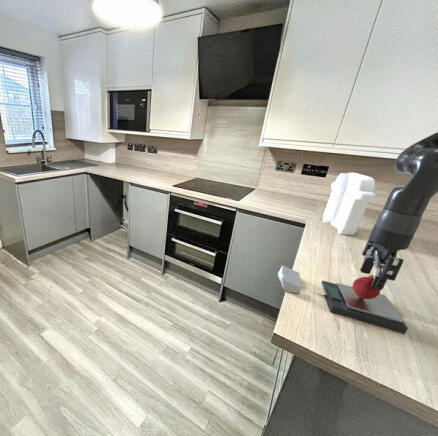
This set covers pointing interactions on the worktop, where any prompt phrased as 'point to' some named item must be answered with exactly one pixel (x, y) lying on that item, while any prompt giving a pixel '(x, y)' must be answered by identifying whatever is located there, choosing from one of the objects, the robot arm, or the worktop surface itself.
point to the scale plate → (369, 304)
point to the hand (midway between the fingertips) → (369, 280)
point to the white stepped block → (349, 201)
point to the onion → (365, 288)
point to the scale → (340, 308)
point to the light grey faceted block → (289, 280)
